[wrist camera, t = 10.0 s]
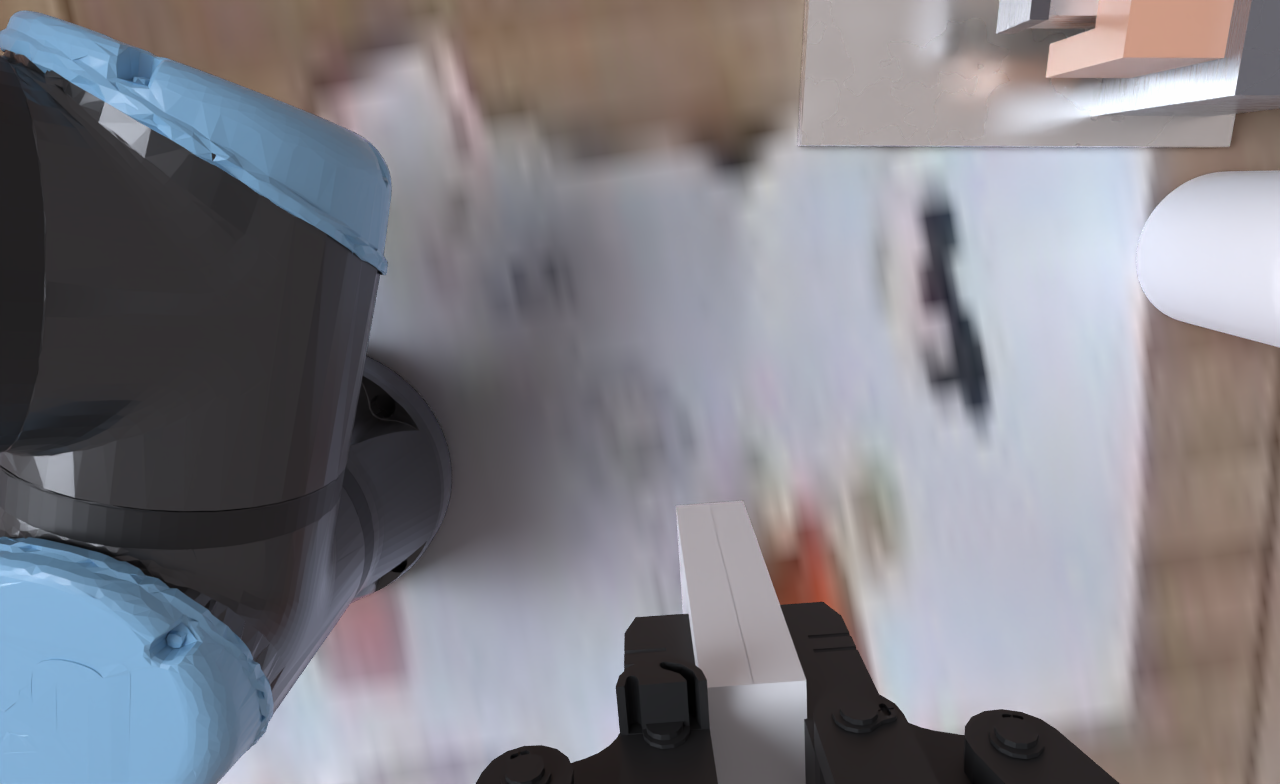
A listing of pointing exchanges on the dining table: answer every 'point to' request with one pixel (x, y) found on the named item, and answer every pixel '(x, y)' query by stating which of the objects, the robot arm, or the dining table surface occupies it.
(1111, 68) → the block
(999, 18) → the shaft
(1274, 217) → the beverage can
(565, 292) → the dining table surface
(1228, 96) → the grey blocky piece
